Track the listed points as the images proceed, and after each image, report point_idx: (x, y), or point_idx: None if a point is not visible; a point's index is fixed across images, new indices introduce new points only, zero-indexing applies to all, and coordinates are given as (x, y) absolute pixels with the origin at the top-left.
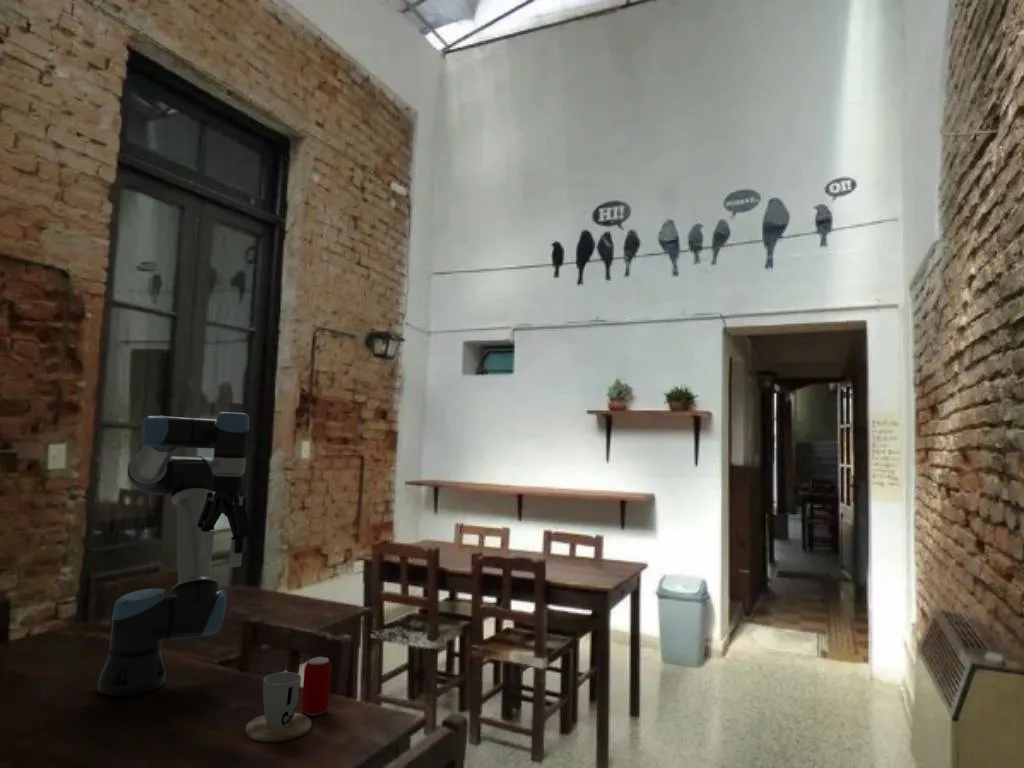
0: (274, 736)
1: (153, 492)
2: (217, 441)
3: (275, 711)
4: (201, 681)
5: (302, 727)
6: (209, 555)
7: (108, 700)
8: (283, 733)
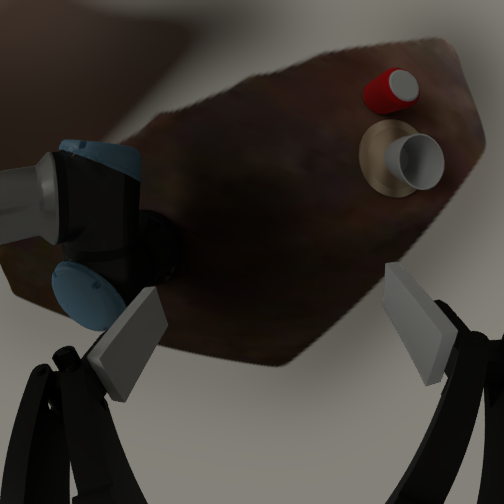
0: None
1: None
2: None
3: (418, 175)
4: (174, 169)
5: None
6: (154, 300)
7: (183, 279)
8: None
